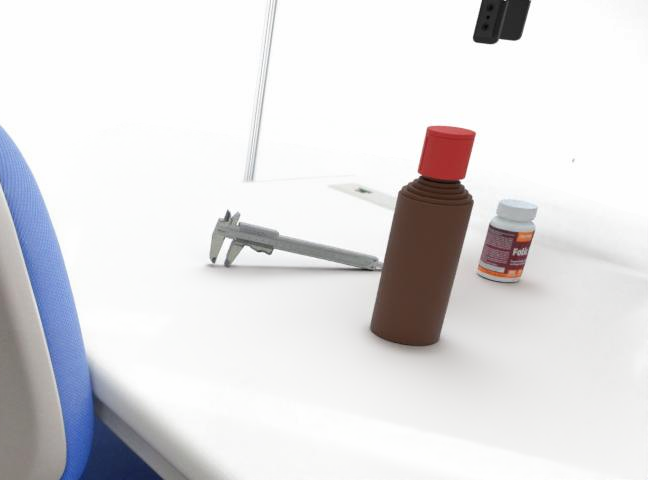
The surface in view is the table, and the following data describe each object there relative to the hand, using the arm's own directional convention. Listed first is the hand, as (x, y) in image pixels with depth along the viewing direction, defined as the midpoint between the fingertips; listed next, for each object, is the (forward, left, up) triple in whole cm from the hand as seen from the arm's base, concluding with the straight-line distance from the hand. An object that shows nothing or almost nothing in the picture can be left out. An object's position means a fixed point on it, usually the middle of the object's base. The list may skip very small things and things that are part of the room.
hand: (496, 41), depth 84 cm
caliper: (+15, +3, -25) cm, 29 cm away
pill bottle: (-6, -7, -25) cm, 27 cm away
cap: (+2, +16, -10) cm, 19 cm away
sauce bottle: (+2, +16, -25) cm, 30 cm away
